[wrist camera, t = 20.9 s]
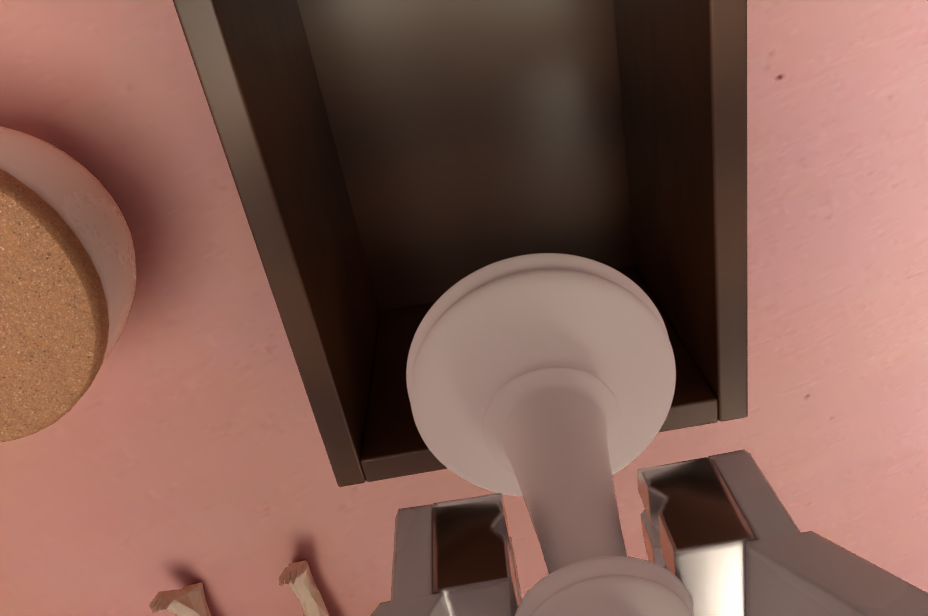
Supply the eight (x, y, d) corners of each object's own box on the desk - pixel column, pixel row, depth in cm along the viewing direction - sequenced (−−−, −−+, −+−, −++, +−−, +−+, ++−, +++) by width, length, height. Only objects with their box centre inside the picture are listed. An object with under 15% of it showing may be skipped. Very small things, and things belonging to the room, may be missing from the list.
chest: (651, 271, 32) (749, 417, 22) (366, 323, 32) (338, 488, 22) (621, -146, 24) (747, -204, 15) (256, -69, 25) (145, -77, 15)
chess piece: (379, 279, 12) (257, 1133, 4) (663, 228, 12) (1298, 994, 3) (434, 495, 15) (445, 1351, 6) (674, 454, 14) (1073, 1276, 6)
